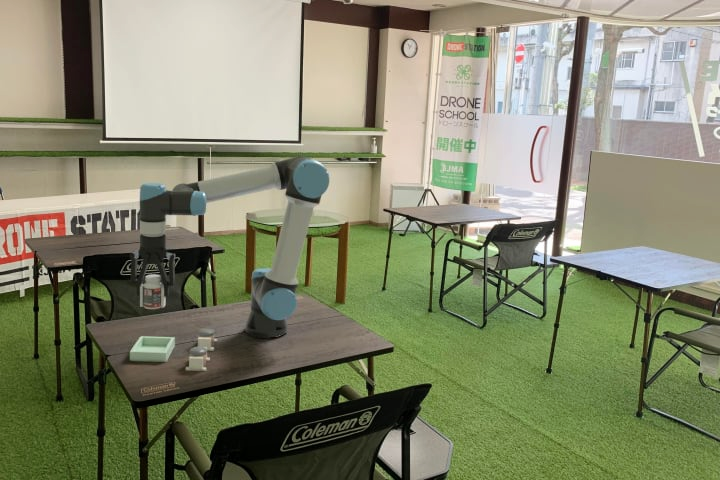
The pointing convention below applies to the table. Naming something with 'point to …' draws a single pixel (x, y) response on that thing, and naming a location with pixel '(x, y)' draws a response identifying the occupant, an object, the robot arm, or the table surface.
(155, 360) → the tray
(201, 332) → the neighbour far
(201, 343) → the cream flat pieces
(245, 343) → the table surface
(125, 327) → the table surface
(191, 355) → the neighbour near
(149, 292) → the pill bottle
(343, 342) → the table surface
